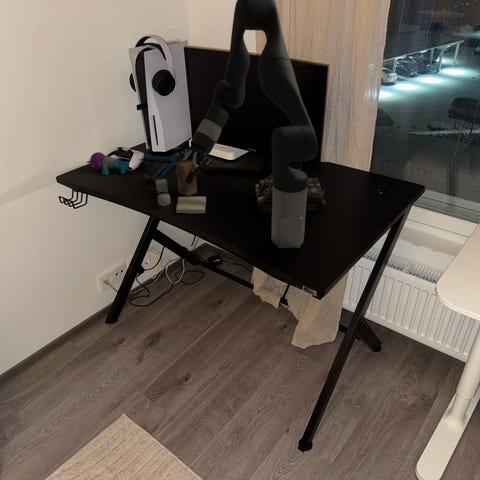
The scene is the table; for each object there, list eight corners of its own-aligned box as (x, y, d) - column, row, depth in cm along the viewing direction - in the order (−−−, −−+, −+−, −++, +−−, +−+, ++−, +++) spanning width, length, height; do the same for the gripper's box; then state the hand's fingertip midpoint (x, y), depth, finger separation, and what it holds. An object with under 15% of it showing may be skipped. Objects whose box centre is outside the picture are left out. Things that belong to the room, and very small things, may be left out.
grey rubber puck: (170, 207, 148) (169, 199, 146) (157, 207, 148) (156, 199, 146) (171, 201, 151) (170, 193, 150) (159, 201, 151) (158, 193, 150)
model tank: (254, 195, 154) (254, 153, 146) (320, 193, 155) (323, 151, 146) (257, 214, 143) (257, 170, 135) (327, 211, 144) (332, 168, 136)
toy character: (113, 168, 165) (149, 144, 184) (115, 179, 168) (150, 154, 187) (187, 180, 156) (216, 153, 175) (188, 191, 158) (217, 164, 177)
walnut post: (197, 192, 156) (194, 162, 150) (187, 196, 154) (184, 166, 148) (188, 188, 159) (185, 158, 153) (178, 192, 156) (175, 163, 150)
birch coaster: (204, 213, 144) (204, 209, 143) (176, 213, 144) (176, 210, 143) (206, 199, 152) (205, 196, 151) (179, 200, 152) (178, 197, 151)
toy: (133, 169, 178) (97, 159, 180) (133, 154, 174) (97, 144, 176) (118, 183, 168) (81, 172, 170) (118, 167, 164) (80, 156, 166)
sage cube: (168, 192, 157) (167, 183, 155) (158, 193, 156) (156, 184, 154) (166, 187, 160) (165, 178, 158) (156, 189, 159) (155, 180, 157)
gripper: (185, 126, 154) (161, 170, 153) (215, 135, 146) (189, 182, 145) (198, 136, 160) (175, 179, 159) (227, 146, 152) (203, 191, 151)
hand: (182, 180), depth 152 cm, fingers closed on walnut post, 4 cm apart
